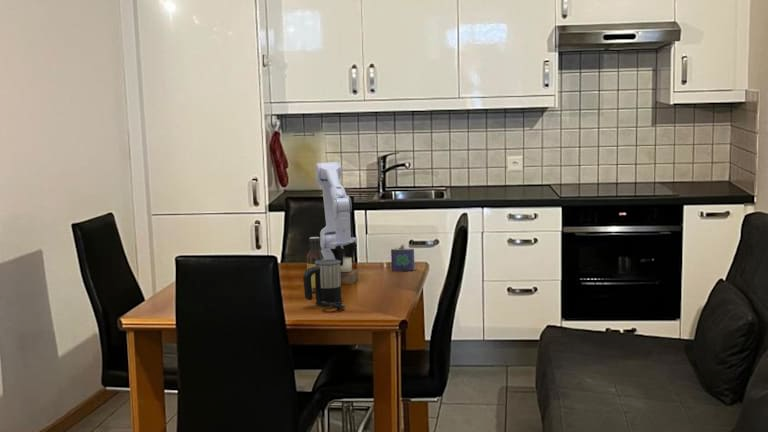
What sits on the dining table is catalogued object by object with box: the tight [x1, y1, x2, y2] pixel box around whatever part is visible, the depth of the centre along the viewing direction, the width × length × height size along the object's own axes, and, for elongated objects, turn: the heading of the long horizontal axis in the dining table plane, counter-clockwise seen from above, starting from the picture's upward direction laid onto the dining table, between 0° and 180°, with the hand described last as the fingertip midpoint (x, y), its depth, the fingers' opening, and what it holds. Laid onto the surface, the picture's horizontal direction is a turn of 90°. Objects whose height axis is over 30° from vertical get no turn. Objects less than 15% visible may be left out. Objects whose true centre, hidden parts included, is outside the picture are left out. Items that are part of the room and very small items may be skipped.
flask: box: [390, 244, 416, 273], centre depth 365 cm, size 9×3×11 cm, turn 87°
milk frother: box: [302, 259, 345, 311], centre depth 311 cm, size 14×16×15 cm
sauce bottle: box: [306, 236, 324, 293], centre depth 334 cm, size 6×6×20 cm
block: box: [340, 269, 359, 285], centre depth 350 cm, size 8×8×4 cm
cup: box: [340, 256, 353, 272], centre depth 349 cm, size 5×5×5 cm
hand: (344, 264), depth 349 cm, fingers open, 5 cm apart
